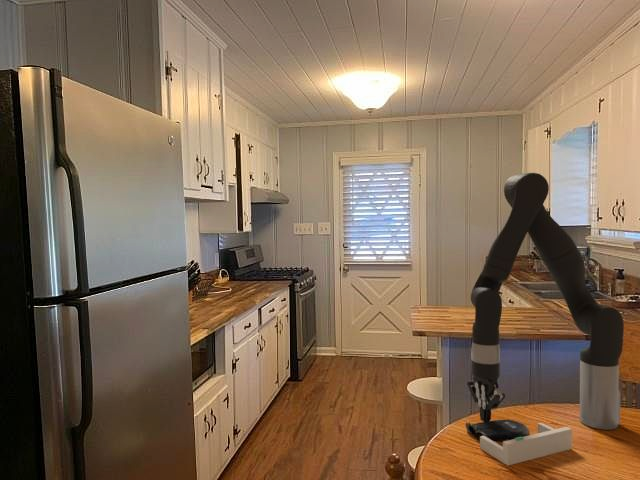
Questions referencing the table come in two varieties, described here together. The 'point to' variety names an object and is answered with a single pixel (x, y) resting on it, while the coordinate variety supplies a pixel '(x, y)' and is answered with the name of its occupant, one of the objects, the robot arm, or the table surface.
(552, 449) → the charging dock
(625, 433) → the table surface
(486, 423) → the electronic device
